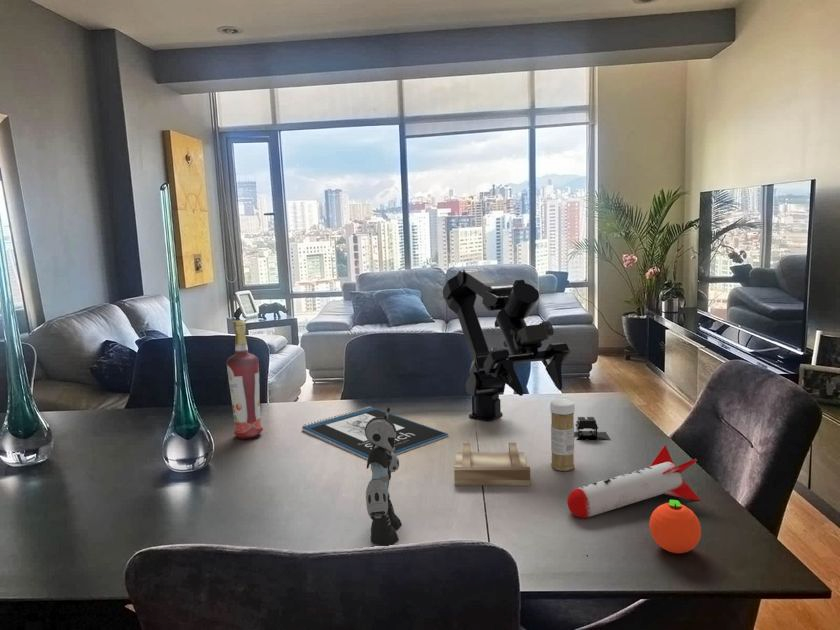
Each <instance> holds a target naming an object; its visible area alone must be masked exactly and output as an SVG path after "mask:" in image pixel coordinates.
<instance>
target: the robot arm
mask: <svg viewBox="0 0 840 630" xmlns="http://www.w3.org/2000/svg"><path fill="white" fill-rule="evenodd" d="M477 295H478V296H480V297H481V298H482V305H483V306H484V307H485V308H486V309H487V311H490V312H493V311H494V312H496V311H499V312H498V313H497V314H496V317H495V321H494V327H495V328H499V329H500V331H501V332H500V333H501V334H502V337H503V339H504V341H503V346H504V348H502V349H493V350H489V346H488V344H487V341H486V338H485V335H484V332H483V329H482V327H481V323H480V321H479V320H480V319H479V317H478V315H477V313H476V309H475V303H476V300H477ZM442 296H443V299H444V300H445V302H446V305H447V307H448V308H449V309H450V310H451V311H452V312H454V313H455V314H456V315H457V317H458V318H457V319H458V321H459V324H460V327H461V330H462V333H463V336H464V340H465V342H466V346H467V348H468V351H469V354H470V358H471V361H472V362H471V365H470V369H469V376H468V378H467V380H466V382H465V390H466V391H465V392H466V393H467V394H469V395H470V396H471V412H470V413H469V414H468V417H469V418H472V419H477V420H483V421H487V422H490V421H493V420H495V419H497V418H499V417H501V416H503V412H502V411H501V407H502V405H501V399H500V393H501V394H504V392H505V389H506V385H507V386H508V387H509V388H511V389H512V390H513V391H514V392H515V393H517V395H518V396H520V397H523V396H524V390H523V386H522V383H521V382H520V380H519V378H518V376H517V373H516V371H515V365H514V364H520V363H521V364H522V363H523V364H524V363H530V362H531V363H532V362H539V361H542V362H543V365H545V366H546V367H545V371H546V372H547V374H548V375H549V378H550V380H551V381H552V382H553V385H555V387H556V389H557V390H558V391H561V390H562V389H563V377H562V367H563V366H562V364H563V363H564V362H565V361H566V359H567V358H568V356H569V355H570V354H571V352H572V350H571V349H570V346H569V344H567V343H566V342H555V343H549V344H548V346H547V348H546V349H545V350H539V349H540V348H541V347H542V346H543V343H542V342H544V341H545V340H548V339H549V338H550V337H552V336H553V335H554V332H555V331H554V327H553V325H552V323H551V322H550V320H546V321H545V320H544V321H542V322H540V323H539V324H531V325H527V322H526V321H525V319H526V318H528V317H529V316H530V314H531V312H533V311H532V310H533V309H534V307H535V306H536V304H537V302H538V300H539V298H540V293H539V290H538V289H537V288H535V287H534V286H533V285H531V284H530V283H526V282H525V279H515V281H514V282H513V284H510V283H505V282H504V283H503V282H496V281H494V280H493V279H491V278H490V277H488V276H487V275H485V274H483V273H482V272H481V271H480V270H479V269H476V268H466V269H461V270H459V271H458V273H457V274H456V275H455V276H453V277H451V278H450V279H448V280H447V282H446V283H445V285H444V287H443V289H442ZM506 348H507V349H506Z"/></svg>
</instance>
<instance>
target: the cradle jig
mask: <svg viewBox="0 0 840 630" xmlns="http://www.w3.org/2000/svg"><path fill="white" fill-rule="evenodd" d="M530 468H531V467H530V466H528V464H527V462H526V457H525V453H524V451H519V450H518V446H517V442H508V451H471V442H463V443H462V451H457V452H455V466H454V469H453V470H454V471H453V472H454V474H453V476H454V486H531V469H530Z"/></svg>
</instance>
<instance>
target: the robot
mask: <svg viewBox="0 0 840 630" xmlns="http://www.w3.org/2000/svg"><path fill="white" fill-rule="evenodd" d="M390 411H391V408H390V407H387V409H386V411H385V412H386V414H385V416H384V417H375V418H373V419H371V420H370V421H369V422H368V423H367V425H366V428H365V436H366V438H367V440H368V439H369V440H370V441H371V442H372V443H374V444H373V447H372V450H371V452H370V453H369V457H368V460H367V459H366V460H367V462H366V469H367V470H368V469H369V468H370V470H371V473H372V474H371V480H370V481H368V483H367V486H366V491H365V500H366V511H367V514H368V516H369V518H370V519H371V525H370V526H371V527H370V540H371V543H372V544H375V545H378V546H383V547H384V546H385V547H386V546H393V545H394V544H395V543H397V542H398V541H399V540H400V539H399V537H398V534H397V532H396V530H399V529H400V527H402V525H403V524H402V521H401V519H400V518H399V517H398V516H397V515H396V513H395V509H394V506H393V503H392V500H391V499H390V496H391V495H390V493H389V485H390V481H391V477H392V473H395V472H396V471H397V470H399V467H400V460H399V457H398V455H395V454H394V453H393V452H394V450H395V447H394V442H395V437H396V428H395V426H394V423H392V422H391V421H390V420H389V419H388V416H389V413H390Z"/></svg>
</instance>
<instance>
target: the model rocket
mask: <svg viewBox="0 0 840 630" xmlns="http://www.w3.org/2000/svg"><path fill="white" fill-rule="evenodd" d="M697 461H698V459H697V458H693V459H691V460H689V461H686V462H684V463H682V464H680V465H677V466H676V465H675V463H674V461H673V459H672V457H671V454H670V452H669V450H668V448H667V446H666V444H664V446H662V449H661V450H660V451H659V452H658V454H657V455H656V457H655V458H654V460H652V462H651V463H650V465H649V466H647V467H644V468H642V469H638V470H634V471H631V472H628V473H624V474H621V475H617V476H614V477H610V478H608V479H607V478H606V479H604V480H600V481H596V482H593V483H589V484H586V485H583V486H579V487H576V488H574V489H573V490H571V491H570V493H569V494H568V496H567V500H566V501H567V503H566V504H567V508H568V510H569V511H570V513H571V514H572V515H573V516H575V517H577V518H580V519H582V518H583V519H586V518H590V517H593V516H596V515H597V516H598V515H601V514H602V513H606V512H610V511H612V510H616V509H619V508H622V507H625V506H628V505H631V504H635V503H638V502H642V501H644V500H648V499H651V498H654V497H657V496H660V495H663V494H664V495H668V496H673V497H675V498H676V497H678V498H681V499H686V500H691V501H699V502H701V501H702V500H701V499H700V498H699V497H698V495H697V494H696V493H695V492H694V491H693V490H692V488H691V487H690V486H689V485H688V484H687V482H686V481H685V480H684V479H683V477H682V475H681V473H683V472H685V470H687V469H688V468H689V467H691V466H692V465H694V464H695V463H696V462H697Z"/></svg>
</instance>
